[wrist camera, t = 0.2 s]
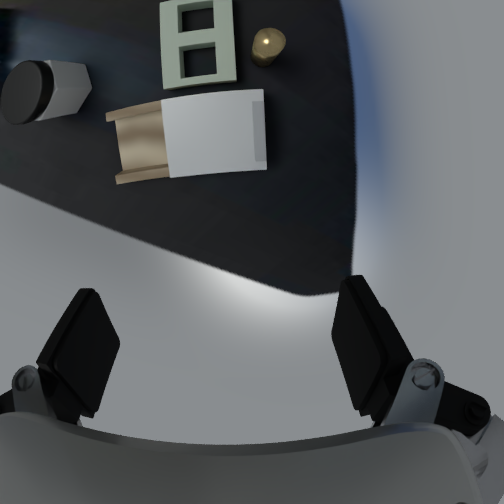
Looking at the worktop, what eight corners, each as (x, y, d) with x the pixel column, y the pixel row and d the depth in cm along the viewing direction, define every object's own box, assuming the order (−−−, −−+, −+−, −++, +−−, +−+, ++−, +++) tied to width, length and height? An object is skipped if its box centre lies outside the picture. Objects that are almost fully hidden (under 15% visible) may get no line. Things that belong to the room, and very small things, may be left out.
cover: (162, 100, 28) (156, 100, 26) (262, 89, 28) (264, 88, 26) (171, 176, 33) (166, 182, 31) (266, 168, 33) (268, 173, 31)
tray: (117, 111, 31) (105, 113, 28) (260, 91, 32) (262, 89, 28) (126, 176, 36) (116, 184, 33) (263, 161, 37) (266, 167, 33)
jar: (46, 114, 30) (-4, 127, 19) (53, 66, 26) (3, 66, 15) (88, 114, 31) (40, 124, 21) (98, 62, 27) (50, 55, 17)
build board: (165, 9, 24) (159, 2, 22) (231, 0, 24) (231, -8, 22) (169, 90, 31) (163, 89, 28) (236, 82, 31) (236, 79, 28)
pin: (249, 47, 28) (253, 28, 20) (272, 47, 28) (284, 28, 20) (251, 67, 30) (255, 54, 21) (274, 66, 30) (286, 53, 21)
